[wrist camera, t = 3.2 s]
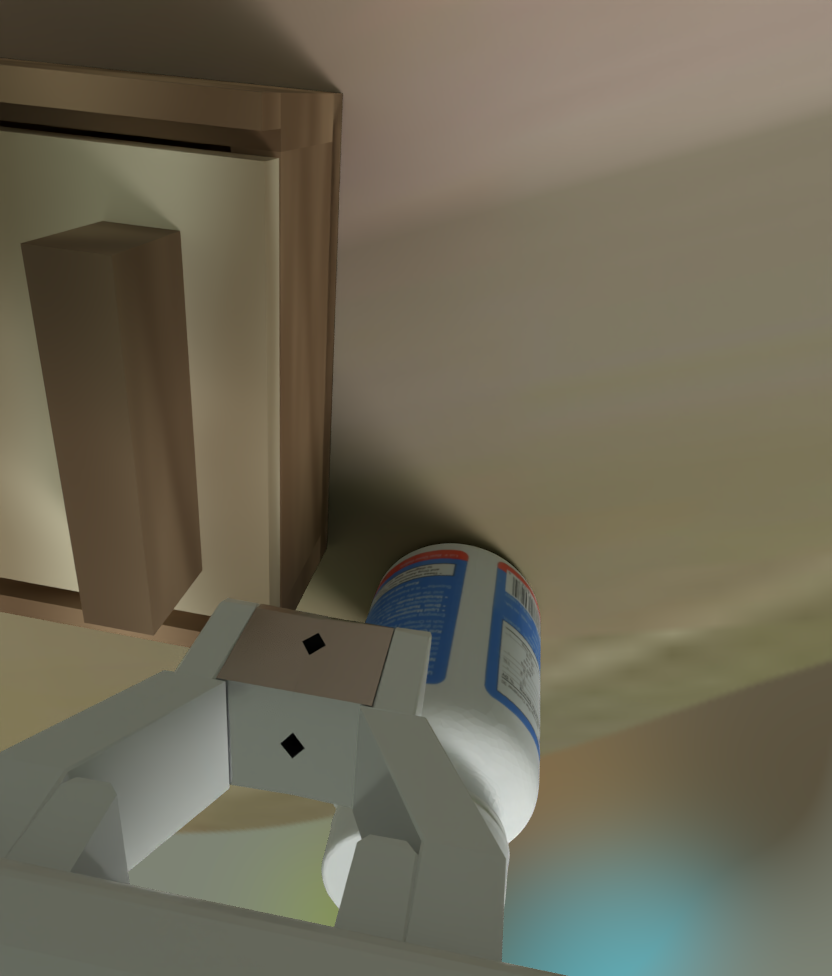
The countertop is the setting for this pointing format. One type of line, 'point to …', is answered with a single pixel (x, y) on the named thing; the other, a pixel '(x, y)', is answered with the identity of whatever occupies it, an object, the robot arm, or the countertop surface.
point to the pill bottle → (466, 684)
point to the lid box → (302, 268)
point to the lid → (139, 375)
